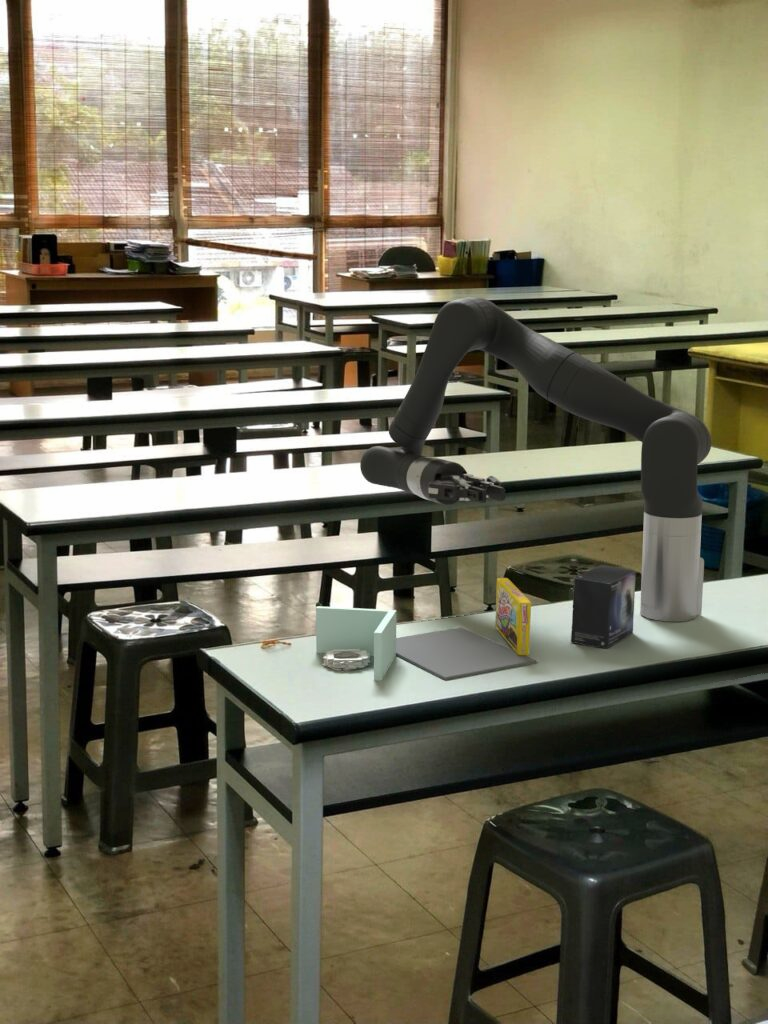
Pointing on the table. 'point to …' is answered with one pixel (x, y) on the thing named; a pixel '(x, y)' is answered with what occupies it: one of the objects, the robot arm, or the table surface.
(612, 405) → the robot arm
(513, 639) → the candy box
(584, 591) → the small box
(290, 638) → the table surface
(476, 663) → the mat
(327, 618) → the right angle wall
